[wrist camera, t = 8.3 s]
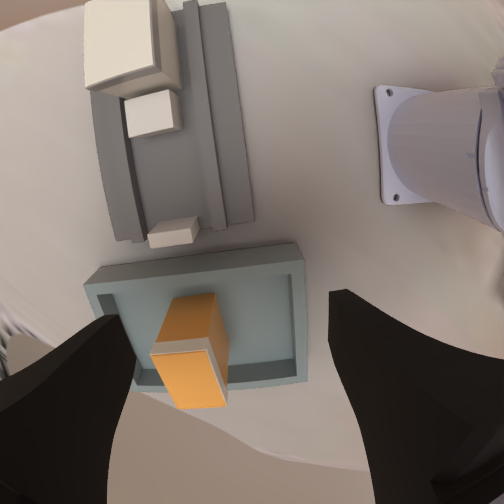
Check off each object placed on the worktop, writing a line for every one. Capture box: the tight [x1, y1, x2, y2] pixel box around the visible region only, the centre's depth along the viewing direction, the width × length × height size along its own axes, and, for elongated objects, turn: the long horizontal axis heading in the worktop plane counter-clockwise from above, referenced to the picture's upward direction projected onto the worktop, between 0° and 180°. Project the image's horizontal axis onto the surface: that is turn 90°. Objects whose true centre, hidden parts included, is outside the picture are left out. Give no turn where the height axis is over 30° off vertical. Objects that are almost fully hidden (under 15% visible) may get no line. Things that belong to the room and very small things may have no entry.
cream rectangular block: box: [84, 0, 184, 100], centre depth 11 cm, size 3×5×6 cm
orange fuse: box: [150, 292, 229, 409], centre depth 17 cm, size 3×5×6 cm
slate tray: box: [83, 243, 308, 393], centre depth 19 cm, size 14×10×3 cm
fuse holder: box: [90, 0, 255, 249], centre depth 14 cm, size 9×14×4 cm, turn 7°
